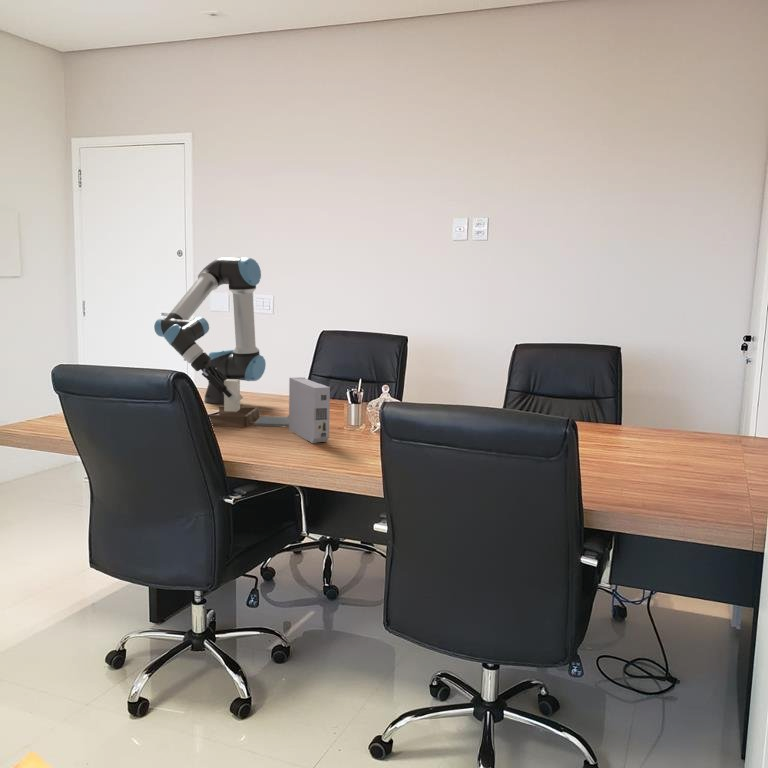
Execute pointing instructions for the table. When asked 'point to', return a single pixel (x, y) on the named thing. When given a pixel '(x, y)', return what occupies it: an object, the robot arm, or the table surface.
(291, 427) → the game console
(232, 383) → the cream block
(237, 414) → the brown wooden tray
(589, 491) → the table surface
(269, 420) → the mat
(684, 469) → the table surface
